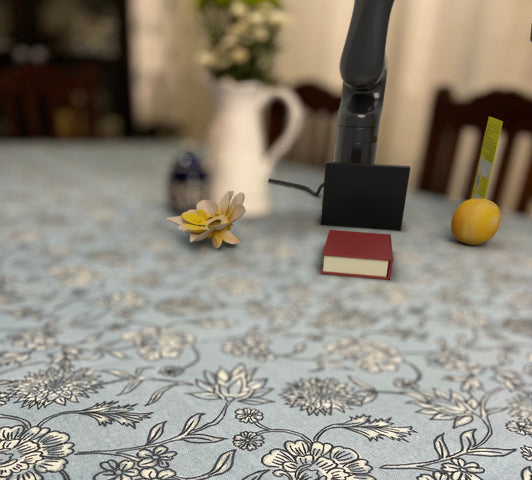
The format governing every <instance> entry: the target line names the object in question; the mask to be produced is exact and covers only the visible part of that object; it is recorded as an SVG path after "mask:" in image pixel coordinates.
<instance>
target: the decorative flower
mask: <svg viewBox="0 0 532 480" xmlns="http://www.w3.org/2000/svg"><path fill="white" fill-rule="evenodd" d="M234 194H235V191H234V190H227V192H226V193H225V194H224V195H223V196H222V197H220V199H219V201H218V203H217V202H216V201H215V200H209V199H202V200H200V201H199V202H197V204H196V207H195V208H196V209H191V208H190V209H188V210H187V211H184V212H182V213H181V215H178V216H169V217H166V218H165V219H166V220H167V221H168V222H171V223H173V224H175V225H177V226H178V230H180V231H183V232H185V233H189V243H194V242H200V241H203V240H205V239H207V240H208V239H210V240H211V244H212V247H213V248H214V249H216V250H218V249H219V248H220V247H221V246H222V244H223V241H224V242H225V243H228V244H232V245H236V244H238V243H240V242H241V240H240V239H239V238H238V237H237V236H236V235H234V234H233V233H232V232H230V231H233V228H232V227H234V223H235V222H237V221H238V220H240V219H241V218H242V217H243V216H244V215H245V214H246V213H247V210H246V208H245V205H244V202H245V197H246V195H245V193H244V192H238V193H236V194H235V195H234Z"/></svg>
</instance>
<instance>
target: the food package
mask: <svg viewBox="0 0 532 480" xmlns="http://www.w3.org/2000/svg"><path fill="white" fill-rule="evenodd" d="M503 123H504V121H502V120H500V119H498V118H495V117H492V116H488V119H487V124H486V128H485V131H484V136H483V141H482V146H481V151H480V156H479V159H478V160H479V161H478V164H477V165H478V166H477V170H476V175H475V179H474V184H473V189H472V193H471V198H470V199H474V198H481V199H487V195H488V190H489V187H490V181H491V177H492V172H493V168H494V163H495V159H496V154H497V150H498V145H499V140H500V136H501V132H502V128H503Z"/></svg>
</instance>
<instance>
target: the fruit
mask: <svg viewBox="0 0 532 480" xmlns="http://www.w3.org/2000/svg"><path fill="white" fill-rule="evenodd" d="M501 220H502V215H501V210H500V208H499V206H498V205H497V204H496V203H495V202H493V201H492V200H490V199H487V198H486V199H481V198H474V199H471V198H470V199H467V200H465V201H463V202H462V203H461V204H459V206H457V208H456V209H455V211H454V212H453V215H452V217H451V221H450V230H451V233H452V235H453V237H454V238H455V239H456V240H457V241H458V242H460V243H462V244H466V245H469V246H478V245H483V244H485V243H487V242H489V241H491V239H492V238H493V237H494V236H495V235H496V233H497V232H498V231H499V228H500V224H501Z"/></svg>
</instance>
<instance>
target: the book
mask: <svg viewBox="0 0 532 480" xmlns="http://www.w3.org/2000/svg"><path fill="white" fill-rule="evenodd" d="M324 243H325V244H324V246H323V250H322V253H321V255H322V256H323V263H322V266H321V270H320V274H321V275H329V276H330V275H332V276H343V277H344V276H345V277H351V278H352V277H354V278H365V279H375V280H376V279H377V280H387V281H391V279H392V271H393V265H394V264H393V263H394V255H393V254H394V253H393V252H394V251H393V243H392V234H391V233H377V232H365V231H364V232H363V231H353V230H351V231H349V230H339V229H329V230H328V233H327V237H326V240H325V242H324Z"/></svg>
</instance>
